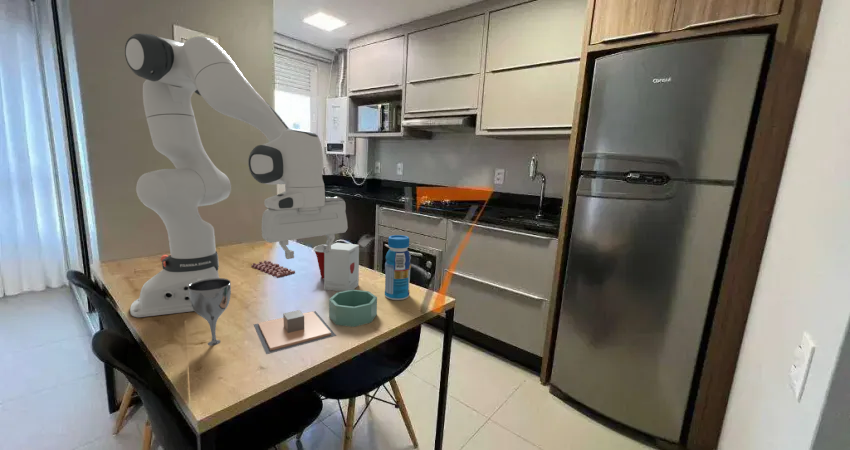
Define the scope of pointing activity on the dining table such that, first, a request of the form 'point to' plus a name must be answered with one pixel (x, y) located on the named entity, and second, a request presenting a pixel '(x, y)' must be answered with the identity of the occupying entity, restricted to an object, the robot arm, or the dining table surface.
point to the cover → (293, 329)
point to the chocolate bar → (272, 269)
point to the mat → (290, 345)
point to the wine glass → (210, 301)
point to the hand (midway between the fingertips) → (309, 255)
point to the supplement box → (341, 267)
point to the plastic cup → (320, 258)
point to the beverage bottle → (397, 268)
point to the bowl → (352, 308)
